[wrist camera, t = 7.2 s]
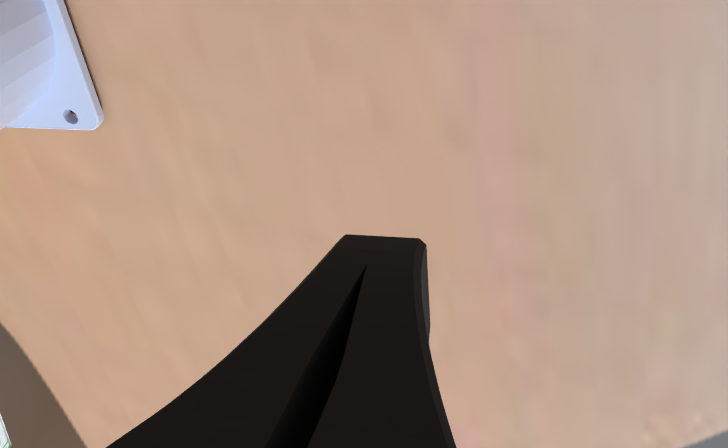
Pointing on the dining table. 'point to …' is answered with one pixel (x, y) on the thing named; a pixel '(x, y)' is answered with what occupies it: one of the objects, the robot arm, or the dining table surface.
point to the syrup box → (4, 435)
